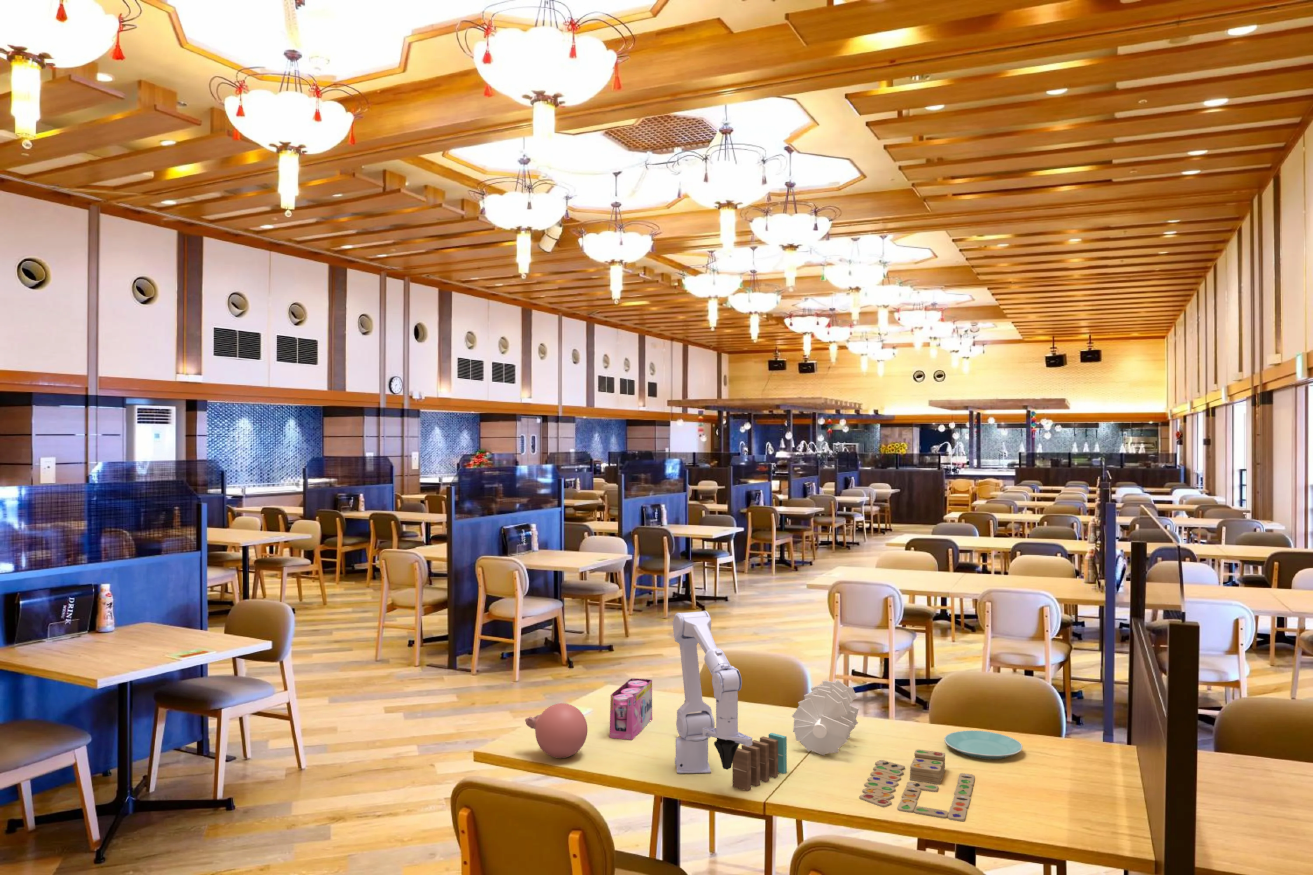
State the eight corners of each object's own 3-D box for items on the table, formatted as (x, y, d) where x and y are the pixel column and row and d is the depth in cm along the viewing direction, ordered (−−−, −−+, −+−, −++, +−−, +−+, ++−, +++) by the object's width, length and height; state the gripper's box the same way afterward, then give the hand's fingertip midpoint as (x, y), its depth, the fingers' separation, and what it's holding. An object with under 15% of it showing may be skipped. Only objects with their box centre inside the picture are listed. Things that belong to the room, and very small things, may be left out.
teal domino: (783, 773, 241) (783, 737, 241) (768, 769, 244) (768, 733, 244) (786, 772, 242) (786, 736, 242) (772, 767, 245) (771, 732, 246)
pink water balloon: (540, 742, 267) (540, 693, 268) (596, 751, 259) (596, 700, 259) (511, 758, 253) (512, 706, 254) (570, 768, 245) (570, 714, 245)
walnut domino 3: (765, 782, 234) (765, 745, 235) (750, 777, 238) (750, 741, 238) (769, 780, 236) (769, 743, 236) (754, 776, 239) (754, 739, 239)
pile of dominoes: (877, 762, 251) (877, 743, 251) (976, 776, 240) (975, 756, 240) (853, 806, 220) (853, 784, 220) (965, 824, 208) (965, 801, 209)
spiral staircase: (805, 769, 255) (820, 739, 278) (859, 750, 249) (870, 721, 273) (778, 711, 258) (795, 686, 281) (831, 691, 252) (844, 667, 275)
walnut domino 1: (747, 791, 228) (747, 753, 228) (732, 786, 232) (732, 748, 232) (751, 789, 229) (751, 751, 230) (736, 784, 233) (736, 747, 233)
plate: (998, 769, 244) (998, 759, 244) (929, 749, 261) (929, 740, 261) (1036, 752, 258) (1036, 742, 258) (969, 734, 275) (969, 725, 275)
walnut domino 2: (756, 786, 231) (756, 749, 232) (741, 781, 235) (741, 745, 235) (760, 784, 233) (760, 747, 233) (745, 780, 236) (745, 743, 236)
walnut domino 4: (774, 778, 238) (774, 741, 238) (759, 773, 241) (759, 737, 241) (778, 776, 239) (777, 740, 239) (763, 771, 242) (763, 736, 242)
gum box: (631, 741, 268) (631, 698, 269) (607, 739, 271) (607, 696, 271) (652, 719, 291) (652, 679, 292) (630, 717, 294) (630, 677, 294)
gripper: (758, 717, 225) (758, 769, 225) (712, 707, 234) (713, 757, 234) (743, 723, 219) (744, 777, 219) (697, 713, 229) (697, 765, 228)
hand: (727, 767), depth 226 cm, fingers closed
